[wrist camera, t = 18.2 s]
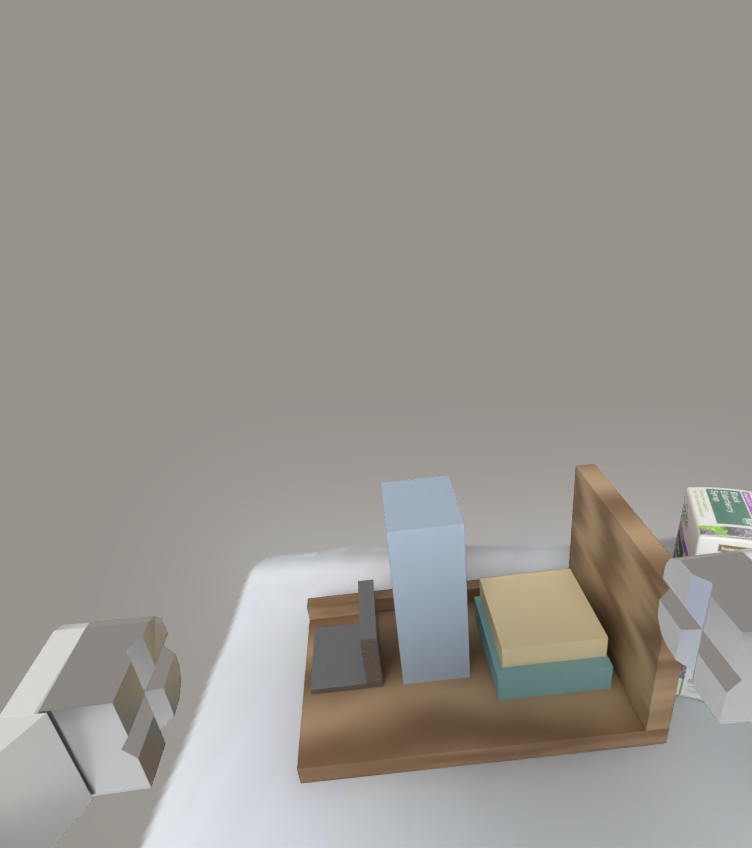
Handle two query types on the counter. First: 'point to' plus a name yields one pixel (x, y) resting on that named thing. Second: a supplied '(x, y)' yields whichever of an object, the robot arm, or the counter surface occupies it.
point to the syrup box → (711, 537)
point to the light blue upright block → (428, 578)
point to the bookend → (349, 650)
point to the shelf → (476, 696)
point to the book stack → (541, 635)
